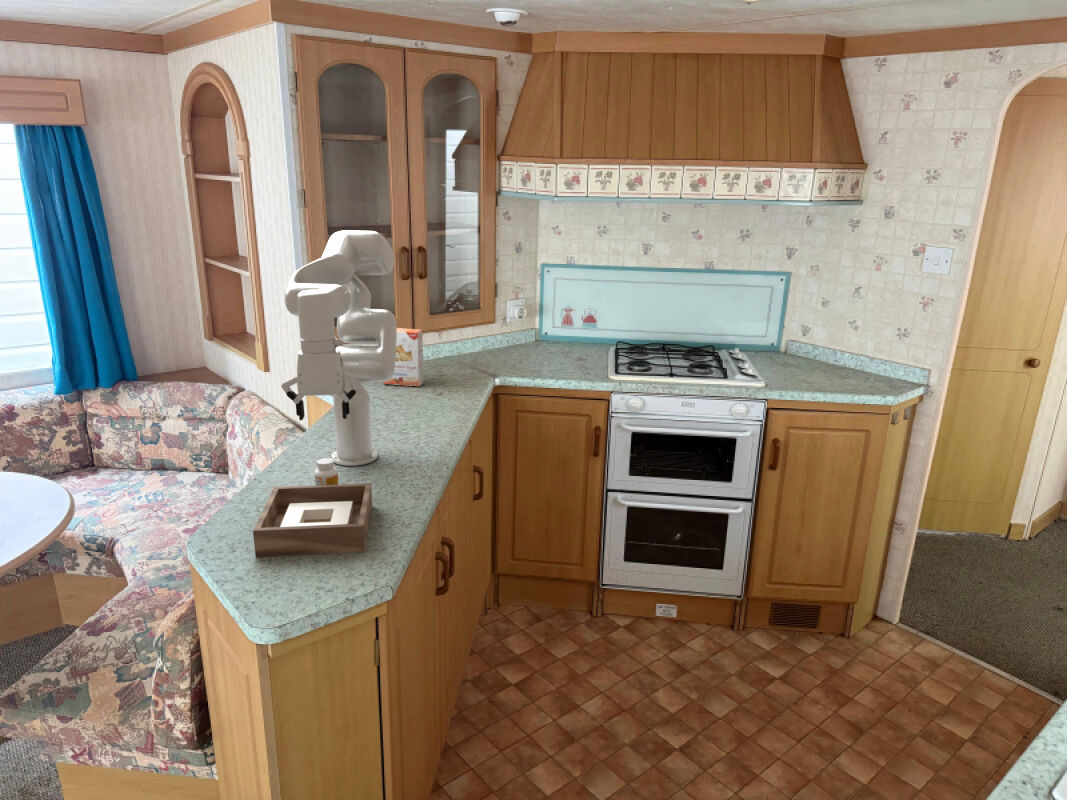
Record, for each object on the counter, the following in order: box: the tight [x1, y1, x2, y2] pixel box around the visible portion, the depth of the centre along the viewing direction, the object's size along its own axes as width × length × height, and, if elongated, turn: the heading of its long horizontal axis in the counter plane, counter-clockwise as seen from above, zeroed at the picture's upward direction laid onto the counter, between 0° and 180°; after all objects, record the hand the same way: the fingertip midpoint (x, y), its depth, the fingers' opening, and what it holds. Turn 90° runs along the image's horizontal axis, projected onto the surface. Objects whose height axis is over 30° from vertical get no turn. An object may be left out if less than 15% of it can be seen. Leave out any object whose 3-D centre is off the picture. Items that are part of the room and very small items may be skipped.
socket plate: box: [280, 501, 353, 527], centre depth 164 cm, size 14×14×2 cm
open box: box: [252, 483, 373, 558], centre depth 164 cm, size 22×22×6 cm
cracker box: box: [382, 327, 424, 386], centre depth 274 cm, size 14×6×21 cm, turn 81°
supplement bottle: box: [314, 457, 340, 485], centre depth 180 cm, size 5×5×10 cm
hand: (323, 417), depth 172 cm, fingers open, 9 cm apart
